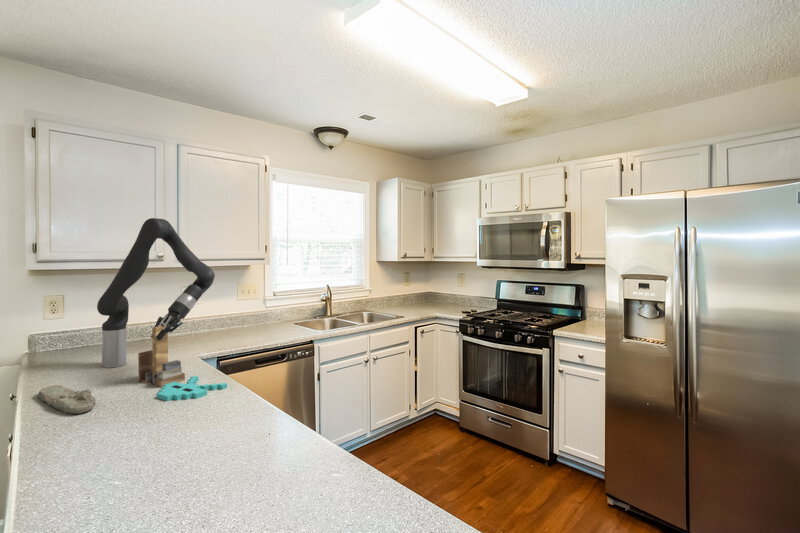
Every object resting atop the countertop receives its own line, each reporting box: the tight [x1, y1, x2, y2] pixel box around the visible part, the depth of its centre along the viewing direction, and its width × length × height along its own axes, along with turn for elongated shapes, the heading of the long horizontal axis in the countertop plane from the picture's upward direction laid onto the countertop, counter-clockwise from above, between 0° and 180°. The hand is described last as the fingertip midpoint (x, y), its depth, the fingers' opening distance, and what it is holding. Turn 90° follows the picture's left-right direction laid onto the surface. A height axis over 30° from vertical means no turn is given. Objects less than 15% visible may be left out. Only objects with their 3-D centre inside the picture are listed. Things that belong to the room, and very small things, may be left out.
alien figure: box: [156, 375, 228, 402], centre depth 154 cm, size 20×2×20 cm
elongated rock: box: [37, 384, 96, 414], centre depth 141 cm, size 35×5×10 cm
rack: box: [137, 349, 157, 386], centre depth 166 cm, size 10×10×12 cm
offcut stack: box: [155, 359, 186, 388], centre depth 162 cm, size 4×10×8 cm, turn 154°
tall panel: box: [151, 325, 169, 374], centre depth 165 cm, size 2×5×22 cm, turn 154°
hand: (155, 338), depth 163 cm, fingers closed on tall panel, 2 cm apart
